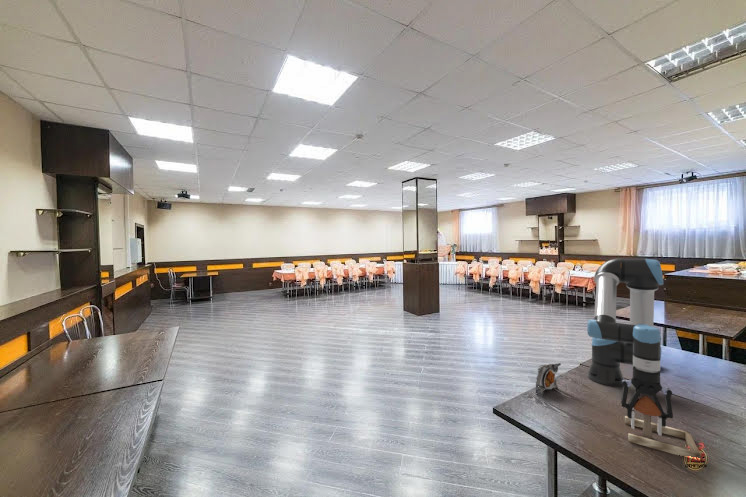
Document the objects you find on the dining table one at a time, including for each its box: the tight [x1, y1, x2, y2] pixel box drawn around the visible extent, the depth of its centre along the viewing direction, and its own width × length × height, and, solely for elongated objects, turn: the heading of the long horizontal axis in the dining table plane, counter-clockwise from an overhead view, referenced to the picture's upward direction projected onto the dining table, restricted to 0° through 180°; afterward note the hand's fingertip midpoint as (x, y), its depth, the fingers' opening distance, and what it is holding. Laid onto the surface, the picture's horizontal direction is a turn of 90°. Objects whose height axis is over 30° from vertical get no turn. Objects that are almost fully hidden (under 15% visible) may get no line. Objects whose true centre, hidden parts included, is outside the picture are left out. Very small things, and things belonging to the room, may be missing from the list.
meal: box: [535, 363, 562, 398], centre depth 146 cm, size 15×4×13 cm, turn 122°
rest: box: [624, 415, 702, 459], centre depth 109 cm, size 18×14×3 cm
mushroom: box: [633, 395, 662, 440], centre depth 111 cm, size 8×8×15 cm
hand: (645, 430), depth 111 cm, fingers closed on mushroom, 7 cm apart
